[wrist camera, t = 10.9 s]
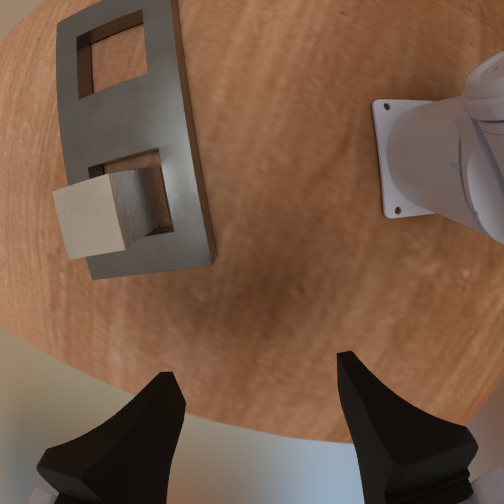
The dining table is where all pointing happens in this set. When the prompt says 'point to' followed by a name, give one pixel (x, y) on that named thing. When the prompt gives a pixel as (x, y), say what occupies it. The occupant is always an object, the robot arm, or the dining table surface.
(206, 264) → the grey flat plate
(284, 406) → the dining table surface
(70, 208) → the grey square peg
